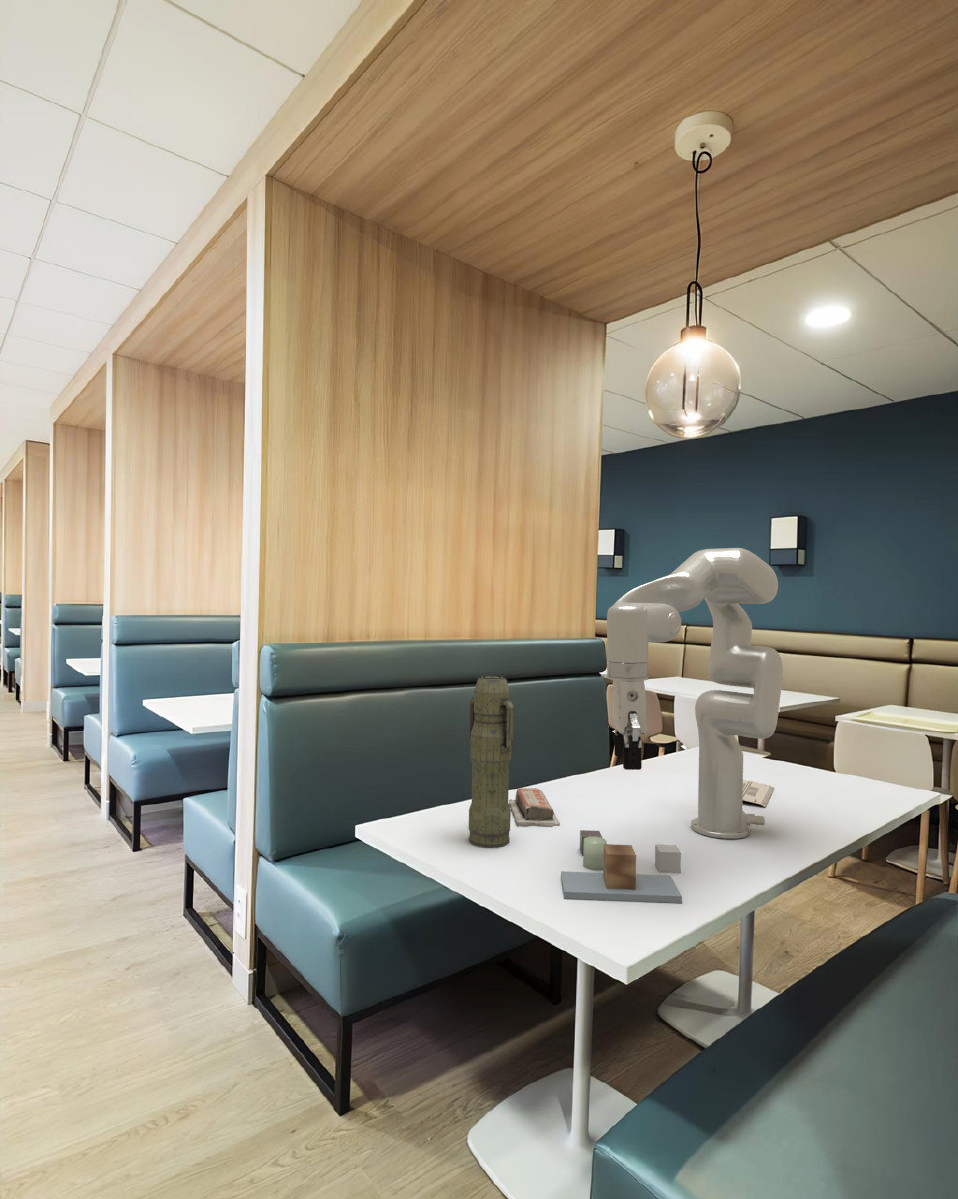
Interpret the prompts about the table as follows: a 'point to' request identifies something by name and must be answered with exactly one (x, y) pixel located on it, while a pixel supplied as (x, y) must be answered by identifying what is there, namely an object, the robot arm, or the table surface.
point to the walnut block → (619, 867)
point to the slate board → (595, 889)
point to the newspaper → (757, 792)
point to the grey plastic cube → (667, 858)
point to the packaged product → (532, 808)
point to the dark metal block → (587, 834)
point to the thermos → (490, 762)
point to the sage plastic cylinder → (593, 853)
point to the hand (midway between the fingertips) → (627, 762)
